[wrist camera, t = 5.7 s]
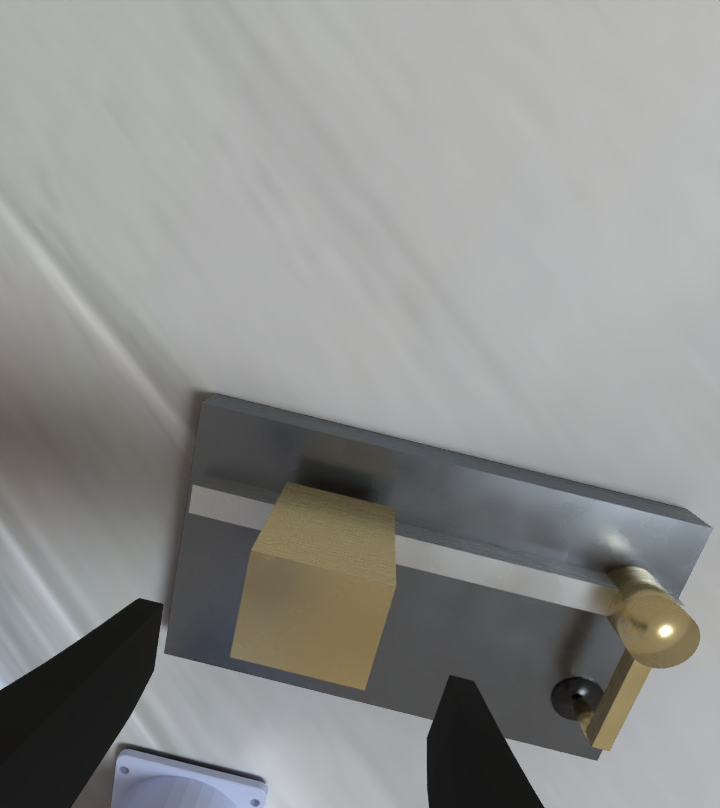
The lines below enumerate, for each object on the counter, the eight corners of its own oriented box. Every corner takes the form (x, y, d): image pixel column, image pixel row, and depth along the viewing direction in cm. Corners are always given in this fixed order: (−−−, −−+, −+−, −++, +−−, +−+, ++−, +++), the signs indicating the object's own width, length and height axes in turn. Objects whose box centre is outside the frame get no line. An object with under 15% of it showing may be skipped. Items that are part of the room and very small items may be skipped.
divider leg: (349, 656, 19) (334, 791, 14) (257, 633, 19) (209, 760, 14) (394, 496, 17) (396, 586, 12) (292, 471, 17) (250, 550, 12)
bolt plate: (583, 728, 22) (625, 825, 18) (179, 628, 22) (133, 702, 18) (687, 509, 18) (766, 568, 15) (216, 393, 19) (170, 421, 15)
